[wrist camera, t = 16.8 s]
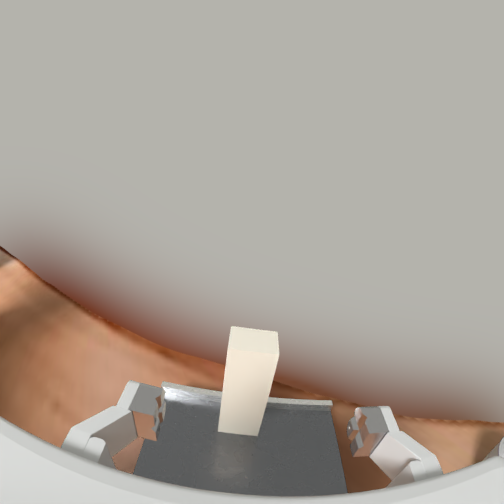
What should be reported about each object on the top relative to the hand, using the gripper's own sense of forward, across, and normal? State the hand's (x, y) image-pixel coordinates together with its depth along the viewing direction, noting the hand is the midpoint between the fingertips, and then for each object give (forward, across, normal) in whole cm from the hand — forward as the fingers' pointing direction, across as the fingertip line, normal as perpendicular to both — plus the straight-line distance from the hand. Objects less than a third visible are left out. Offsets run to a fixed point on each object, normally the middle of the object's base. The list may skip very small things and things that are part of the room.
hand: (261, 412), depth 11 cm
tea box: (+17, +1, -22) cm, 28 cm away
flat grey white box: (+12, +2, -26) cm, 29 cm away
